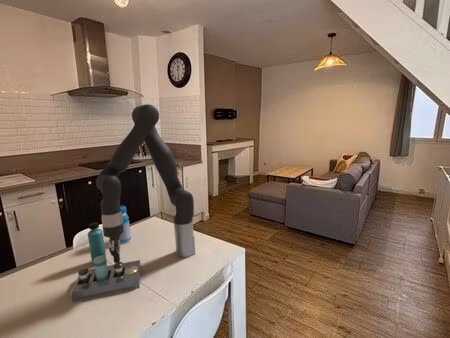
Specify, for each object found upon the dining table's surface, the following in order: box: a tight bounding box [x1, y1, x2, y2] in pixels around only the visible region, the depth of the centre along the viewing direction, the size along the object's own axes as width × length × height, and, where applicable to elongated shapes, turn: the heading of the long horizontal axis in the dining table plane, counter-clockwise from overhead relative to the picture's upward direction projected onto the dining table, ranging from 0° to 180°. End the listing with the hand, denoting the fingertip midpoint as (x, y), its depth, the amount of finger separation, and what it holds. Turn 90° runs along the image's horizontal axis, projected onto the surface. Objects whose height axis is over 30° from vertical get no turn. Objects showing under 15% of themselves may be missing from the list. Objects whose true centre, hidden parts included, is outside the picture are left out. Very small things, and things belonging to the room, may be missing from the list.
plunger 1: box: [77, 267, 89, 284], centre depth 97 cm, size 4×4×5 cm
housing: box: [70, 259, 142, 302], centre depth 100 cm, size 24×14×4 cm, turn 107°
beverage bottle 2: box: [120, 205, 132, 245], centre depth 134 cm, size 8×8×20 cm
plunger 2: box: [112, 261, 124, 277], centre depth 100 cm, size 4×4×5 cm
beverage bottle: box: [87, 222, 107, 263], centre depth 114 cm, size 6×7×20 cm
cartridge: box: [93, 255, 109, 281], centre depth 98 cm, size 5×5×12 cm
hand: (117, 261), depth 99 cm, fingers closed
